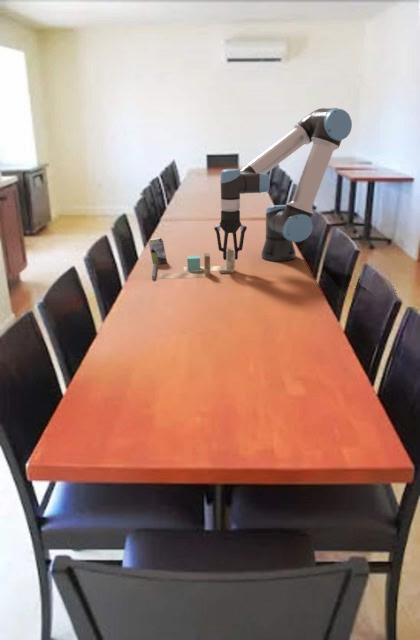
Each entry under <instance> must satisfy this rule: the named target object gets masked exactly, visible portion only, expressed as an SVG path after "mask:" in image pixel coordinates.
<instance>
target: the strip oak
mask: <svg viewBox="0 0 420 640" xmlns="http://www.w3.org/2000/svg"><path fill="white" fill-rule="evenodd" d="M203 256H204V261H203V262H204V263H203V264H204V266H205V271H197V272H173V273H171V272H170V273H158V275H159V276H158V279H159V280H160V279H162V280H163V279H164V280H165V279H166V280H167V279H189V278H190V279H193V278H195V279H196V278H199V279H200V278H211V271H210V266H211V254H210V253H209V252H206V253H203Z"/></svg>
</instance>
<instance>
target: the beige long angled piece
mask: <svg viewBox="0 0 420 640" xmlns="http://www.w3.org/2000/svg"><path fill="white" fill-rule="evenodd" d="M226 251H228V268H226V265H213V266H212V265H210V272H217V271H219V274H225V273H226V274H230V273H232V274H233V273H234V271H235V270H234V268H233V251H234V247H233V246H231V247H230V246H229V247H228V246H227V250H226ZM197 272H205V265H204V266H201V265H200V270H198V271H197ZM183 273H192V271H188V266H183Z"/></svg>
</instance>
